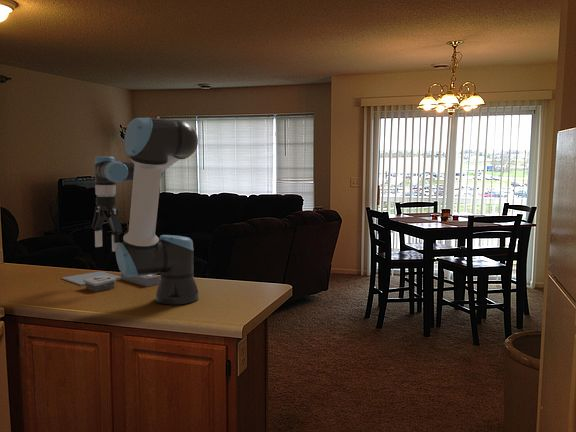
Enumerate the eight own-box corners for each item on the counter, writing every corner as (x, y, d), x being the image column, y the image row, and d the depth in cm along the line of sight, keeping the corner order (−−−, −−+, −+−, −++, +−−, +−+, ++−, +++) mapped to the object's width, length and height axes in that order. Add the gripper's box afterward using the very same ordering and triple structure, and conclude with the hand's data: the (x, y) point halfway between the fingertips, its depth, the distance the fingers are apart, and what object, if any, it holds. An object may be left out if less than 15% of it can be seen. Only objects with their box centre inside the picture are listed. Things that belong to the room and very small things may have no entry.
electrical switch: (117, 278, 199) (96, 279, 192) (116, 291, 199) (94, 293, 192) (104, 274, 205) (83, 275, 197) (102, 287, 205) (81, 288, 198)
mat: (122, 278, 216) (122, 277, 216) (81, 285, 203) (81, 284, 203) (101, 272, 228) (101, 271, 228) (61, 278, 215) (61, 277, 215)
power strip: (159, 284, 206) (159, 274, 205) (146, 287, 201) (146, 277, 201) (133, 277, 219) (133, 267, 219) (121, 279, 215) (120, 269, 214)
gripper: (131, 197, 193) (132, 251, 195) (99, 193, 210) (100, 243, 212) (112, 197, 187) (114, 254, 190) (81, 194, 204) (83, 246, 207)
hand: (107, 248), depth 201 cm, fingers open, 13 cm apart
